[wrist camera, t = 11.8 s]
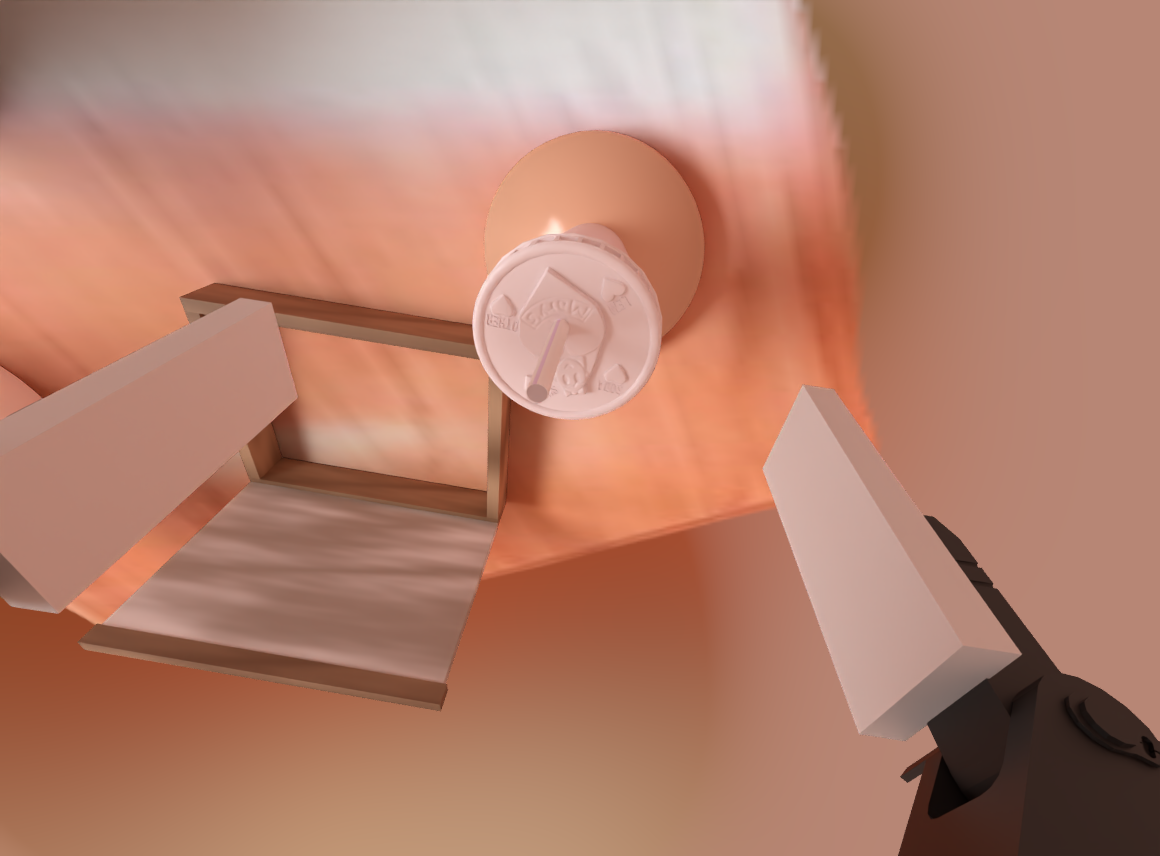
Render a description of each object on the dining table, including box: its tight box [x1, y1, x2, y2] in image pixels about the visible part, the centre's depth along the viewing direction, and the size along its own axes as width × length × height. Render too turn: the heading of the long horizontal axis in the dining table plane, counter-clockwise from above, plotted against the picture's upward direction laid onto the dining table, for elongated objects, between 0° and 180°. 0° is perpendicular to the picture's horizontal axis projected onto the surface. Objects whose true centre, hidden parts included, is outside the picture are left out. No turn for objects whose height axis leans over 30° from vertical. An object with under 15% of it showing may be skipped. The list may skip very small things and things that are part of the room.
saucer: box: [484, 130, 705, 338], centre depth 24 cm, size 11×11×1 cm
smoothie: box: [472, 223, 662, 420], centre depth 17 cm, size 6×6×14 cm
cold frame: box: [78, 283, 511, 711], centre depth 26 cm, size 16×18×15 cm
